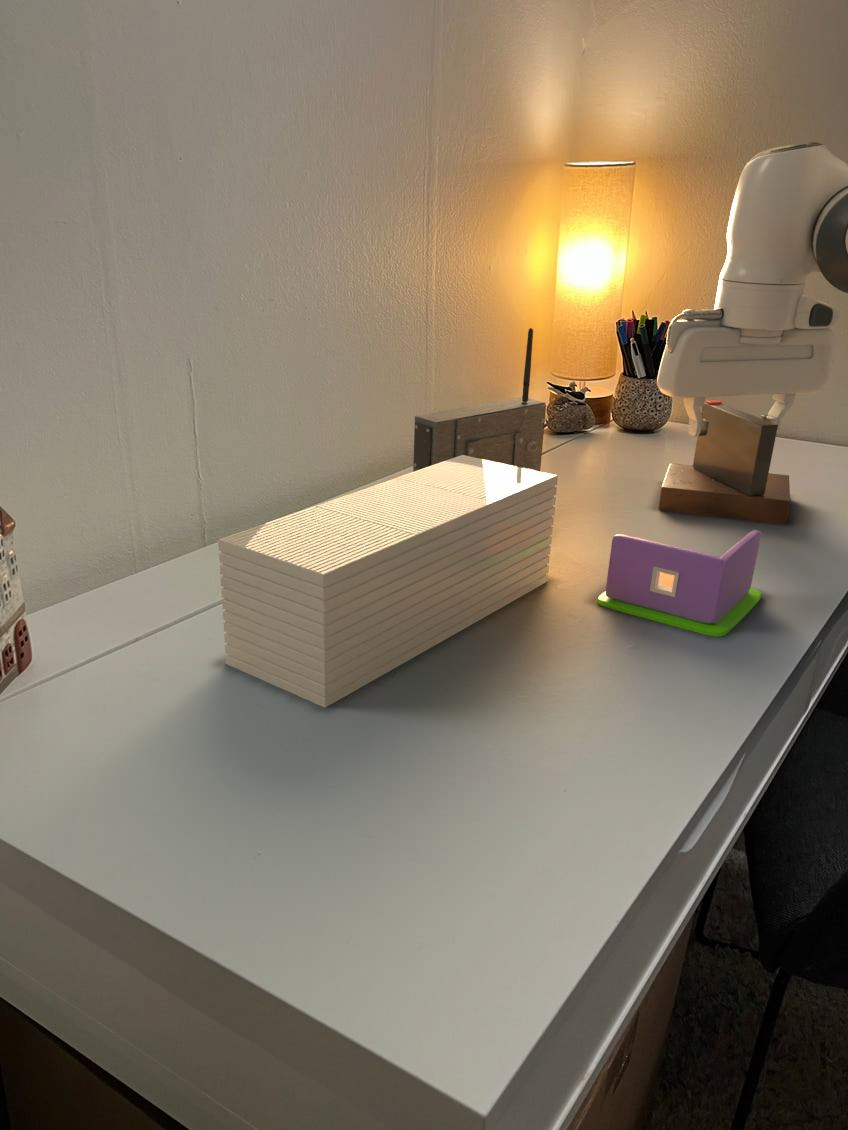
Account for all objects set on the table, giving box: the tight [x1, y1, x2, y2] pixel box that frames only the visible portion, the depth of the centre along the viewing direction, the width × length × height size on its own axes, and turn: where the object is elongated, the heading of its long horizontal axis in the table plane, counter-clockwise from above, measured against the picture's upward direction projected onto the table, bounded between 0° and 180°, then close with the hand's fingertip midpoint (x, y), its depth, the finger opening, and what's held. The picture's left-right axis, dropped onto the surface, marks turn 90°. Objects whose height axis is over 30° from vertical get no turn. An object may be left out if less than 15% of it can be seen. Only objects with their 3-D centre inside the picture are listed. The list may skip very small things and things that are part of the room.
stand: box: [657, 462, 791, 525], centre depth 115 cm, size 14×11×3 cm
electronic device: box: [412, 327, 547, 472], centre depth 109 cm, size 17×7×20 cm, turn 128°
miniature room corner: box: [596, 529, 762, 637], centre depth 87 cm, size 12×12×7 cm
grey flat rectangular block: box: [692, 399, 778, 496], centre depth 112 cm, size 12×2×8 cm, turn 14°
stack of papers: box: [217, 455, 559, 708], centre depth 82 cm, size 32×11×11 cm, turn 140°
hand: (733, 433), depth 111 cm, fingers open, 8 cm apart
